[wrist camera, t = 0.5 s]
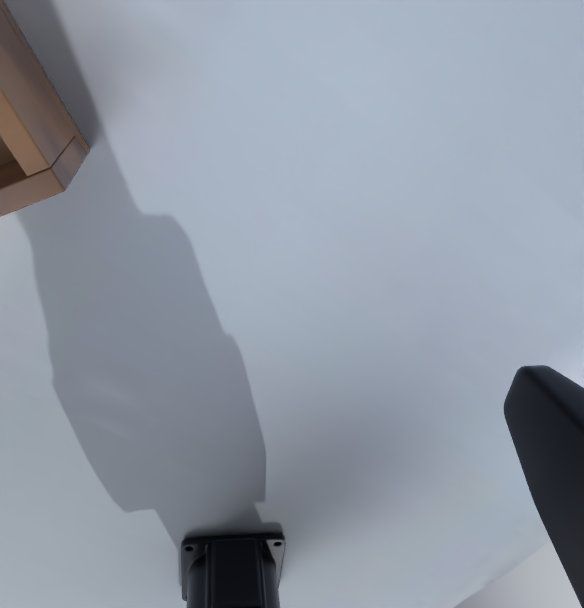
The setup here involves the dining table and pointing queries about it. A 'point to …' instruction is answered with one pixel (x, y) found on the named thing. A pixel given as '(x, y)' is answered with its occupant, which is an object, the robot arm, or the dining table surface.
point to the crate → (31, 126)
